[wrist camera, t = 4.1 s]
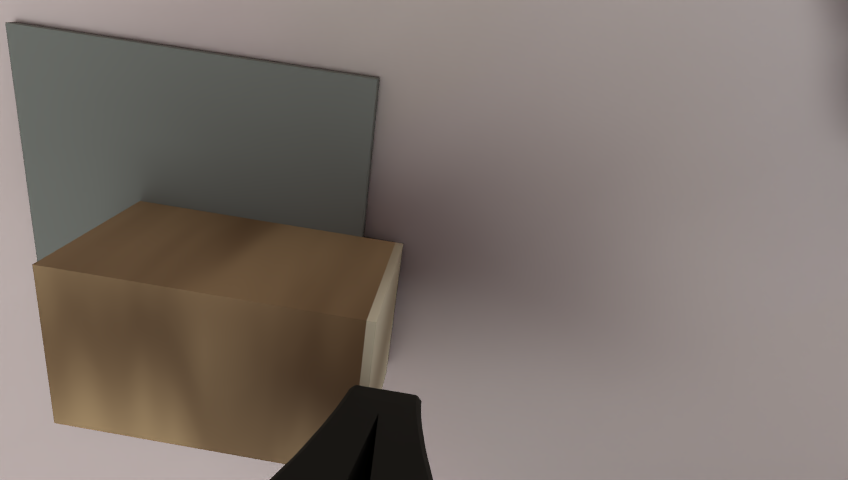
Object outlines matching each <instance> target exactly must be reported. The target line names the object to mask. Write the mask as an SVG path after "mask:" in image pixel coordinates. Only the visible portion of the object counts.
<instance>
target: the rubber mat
mask: <svg viewBox="0 0 848 480" xmlns="http://www.w3.org/2000/svg"><path fill="white" fill-rule="evenodd" d="M5 24H6V32H7V39H8V47H9V54H10V62H11V69H12V76H13V84H14V91H15V99H16V106H17V114H18V121H19V128H20V136H21V143H22V151H23V158H24V166H25V173H26V181H27V188H28V195H29V203H30V210H31V218H32V225H33V233H34V240H35V247H36V255H37V262H38V261H39V260H41V259H43V258H44V257H46V256H48V255H49V254H51V253H53V252H54V251H56V250H58V249H60V248H61V247H63V246H65V245H66V244H68V243H70V242H71V241H73V240H75V239H76V238H78V237H80V236H82V235H83V234H85V233H87V232H88V231H90V230H92V229H93V228H95V227H97V226H98V225H100V224H102V223H104V222H105V221H107V220H109V219H110V218H112V217H114V216H115V215H117V214H119V213H120V212H122V211H124V210H126V209H127V208H129V207H131V206H132V205H134V204H136V203H137V202H139V201H144V202H150V203H156V204H162V205H168V206H174V207H181V208H187V209H193V210H199V211H205V212H211V213H217V214H224V215H230V216H236V217H242V218H248V219H254V220H260V221H267V222H273V223H279V224H285V225H291V226H297V227H304V228H310V229H316V230H322V231H328V232H334V233H340V234H347V235H353V236H359V237H363V235H364V226H365V216H366V206H367V196H368V186H369V176H370V167H371V157H372V147H373V137H374V127H375V118H376V108H377V98H378V88H379V78H378V77H371V76H365V75H358V74H352V73H345V72H339V71H332V70H325V69H319V68H312V67H306V66H299V65H293V64H286V63H280V62H273V61H266V60H260V59H253V58H247V57H240V56H234V55H227V54H220V53H214V52H207V51H201V50H194V49H188V48H181V47H174V46H168V45H161V44H155V43H148V42H142V41H135V40H128V39H122V38H115V37H109V36H102V35H96V34H89V33H82V32H76V31H69V30H63V29H56V28H50V27H43V26H36V25H30V24H23V23H17V22H8V23H5Z"/></svg>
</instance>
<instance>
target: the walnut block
mask: <svg viewBox="0 0 848 480" xmlns="http://www.w3.org/2000/svg"><path fill="white" fill-rule="evenodd" d="M402 249H403V244H402V243H396V242H390V241H384V240H377V239H371V238H365V237H359V236H353V235H347V234H340V233H334V232H328V231H322V230H316V229H310V228H304V227H297V226H291V225H285V224H279V223H273V222H267V221H260V220H254V219H248V218H242V217H236V216H230V215H224V214H217V213H211V212H205V211H199V210H193V209H187V208H181V207H174V206H168V205H162V204H156V203H150V202H144V201H139V202H137V203H136V204H134V205H132V206H131V207H129V208H127V209H126V210H124V211H122V212H120V213H119V214H117V215H115V216H114V217H112V218H110V219H109V220H107V221H105V222H104V223H102V224H100V225H98V226H97V227H95V228H93V229H92V230H90V231H88V232H87V233H85V234H83V235H82V236H80V237H78V238H76V239H75V240H73V241H71V242H70V243H68V244H66V245H65V246H63V247H61V248H60V249H58V250H56V251H54V252H53V253H51V254H49V255H48V256H46V257H44V258H43V259H41V260H39V261H38V262H36V263H34V264H32V265H33V272H34V279H35V286H36V294H37V301H38V308H39V315H40V322H41V330H42V337H43V344H44V351H45V358H46V366H47V373H48V380H49V387H50V394H51V402H52V409H53V416H54V423H58V424H64V425H69V426H75V427H80V428H86V429H92V430H97V431H103V432H108V433H114V434H120V435H125V436H131V437H136V438H142V439H148V440H153V441H159V442H164V443H170V444H176V445H181V446H187V447H192V448H198V449H204V450H209V451H215V452H220V453H226V454H232V455H237V456H243V457H248V458H254V459H260V460H265V461H271V462H276V463H282V464H286V463H287V462H288V461H289V460H290V459H292V458H293V457H294V455H295V454H296V453H297V452H298V451H299V450H300V449H301V448H302V447H303V446H304V445H305V444H306V442H307V441H308V440H309V439H310V438H311V437H312V436H313V435H314V434H315V433H316V431H317V430H318V429H319V428H320V427H321V426H322V424H323V423H324V422H325V421H326V420H327V418H328V417H329V416H330V415H331V414H332V412H333V411H334V410H335V408H336V407H337V406H338V405H339V403H340V402H341V400H342V399H343V398H344V396H345V395H346V393H347V392H348V390H349V389H350V388H351V387H353V386H355V385H360V386H366V387H371V388H377V389H382V387H383V383H384V379H385V375H386V371H387V364H388V356H389V348H390V341H391V333H392V325H393V318H394V310H395V302H396V295H397V287H398V279H399V272H400V264H401V257H402Z"/></svg>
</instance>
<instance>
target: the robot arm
mask: <svg viewBox="0 0 848 480" xmlns="http://www.w3.org/2000/svg"><path fill="white" fill-rule="evenodd" d="M270 480H433V478H432V474H431V470H430V466H429V462H428V458H427V453H426V448H425V443H424V437H423V430H422V422H421V400H420V399H419V398H418V396H417V395H412V394H406V393H400V392H394V391H389V390H383V389H377V388H371V387H366V386H360V385H355V386H353V387H351V388H350V389H349V390H348V392H347V393H346V395H345V396H344V398H343V399H342V400H341V402H340V403H339V405H338V406H337V407H336V408H335V410H334V411H333V412H332V414H331V415H330V416H329V417H328V418H327V420H326V421H325V422H324V423H323V424H322V426H321V427H320V428H319V429H318V430H317V431H316V433H315V434H314V435H313V436H312V437H311V438H310V439H309V440H308V441H307V442H306V444H305V445H304V446H303V447H302V448H301V449H300V450H299V451H298V452H297V453H296V454H295V455H294V457H293V458H292V459H290V460H289V461H288V462H287V463H286V464H285V465H284V466H283V467H282V468H281V469H280V470H279V471H278V472H277V473H276V474H275V475H274V476H273V477H272V478H271V479H270Z"/></svg>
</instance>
